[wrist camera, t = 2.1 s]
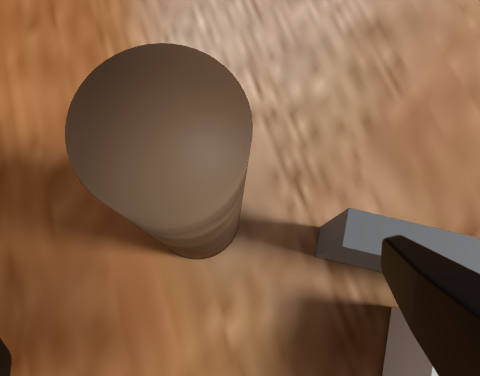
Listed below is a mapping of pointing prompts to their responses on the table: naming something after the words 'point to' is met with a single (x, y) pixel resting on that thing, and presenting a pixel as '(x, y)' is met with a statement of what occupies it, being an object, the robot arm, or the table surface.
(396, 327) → the socket block
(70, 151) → the dowel
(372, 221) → the backstop wall
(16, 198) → the table surface
